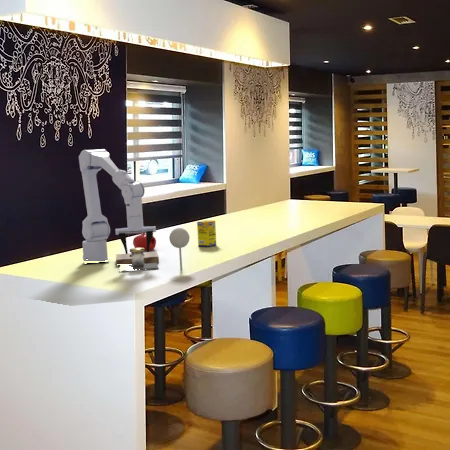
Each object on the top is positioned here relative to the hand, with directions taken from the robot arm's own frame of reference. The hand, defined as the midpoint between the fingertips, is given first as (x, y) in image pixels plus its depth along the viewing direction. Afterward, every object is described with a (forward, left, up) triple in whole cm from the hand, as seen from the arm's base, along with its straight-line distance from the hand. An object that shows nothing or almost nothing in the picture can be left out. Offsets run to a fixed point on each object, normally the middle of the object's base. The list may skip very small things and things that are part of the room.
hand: (137, 252), depth 225 cm
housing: (0, +13, -6) cm, 14 cm away
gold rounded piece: (0, 0, -5) cm, 5 cm away
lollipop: (+15, -9, -6) cm, 18 cm away
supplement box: (+31, +38, -6) cm, 49 cm away
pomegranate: (+4, +39, -6) cm, 40 cm away
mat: (0, 0, -6) cm, 6 cm away
